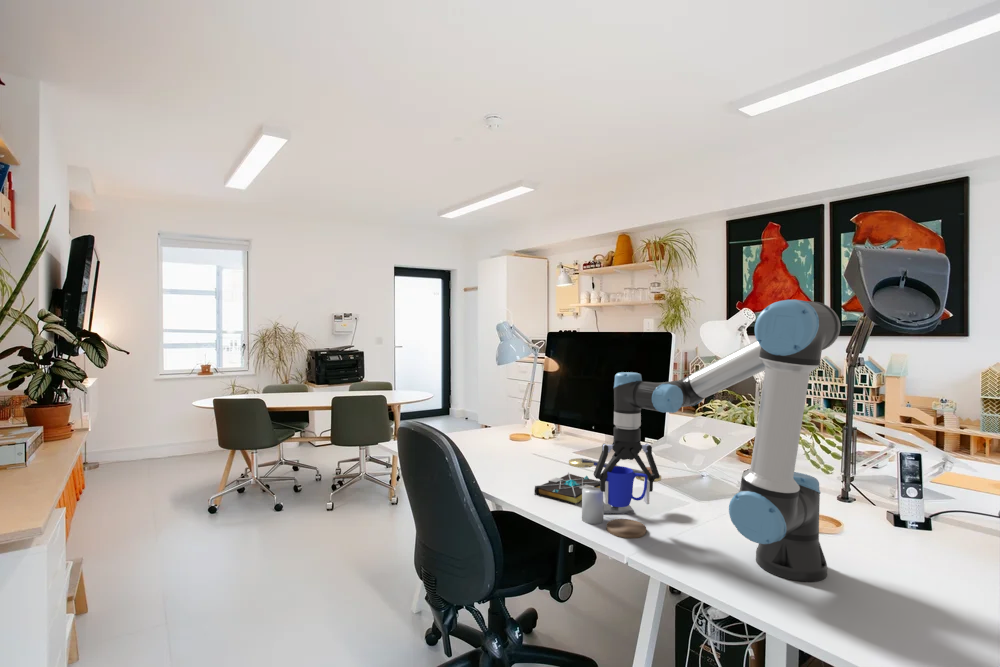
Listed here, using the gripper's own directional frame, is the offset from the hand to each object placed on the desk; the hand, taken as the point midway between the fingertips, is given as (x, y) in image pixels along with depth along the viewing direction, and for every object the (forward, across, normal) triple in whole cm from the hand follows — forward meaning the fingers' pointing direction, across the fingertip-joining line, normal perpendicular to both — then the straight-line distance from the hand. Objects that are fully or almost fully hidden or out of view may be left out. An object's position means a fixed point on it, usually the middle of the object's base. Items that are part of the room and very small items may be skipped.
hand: (626, 502), depth 147 cm
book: (+9, +10, -34) cm, 36 cm away
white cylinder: (+8, +8, -8) cm, 14 cm away
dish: (+8, 0, 0) cm, 8 cm away
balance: (+8, -1, -17) cm, 19 cm away
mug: (+1, 0, 0) cm, 1 cm away
